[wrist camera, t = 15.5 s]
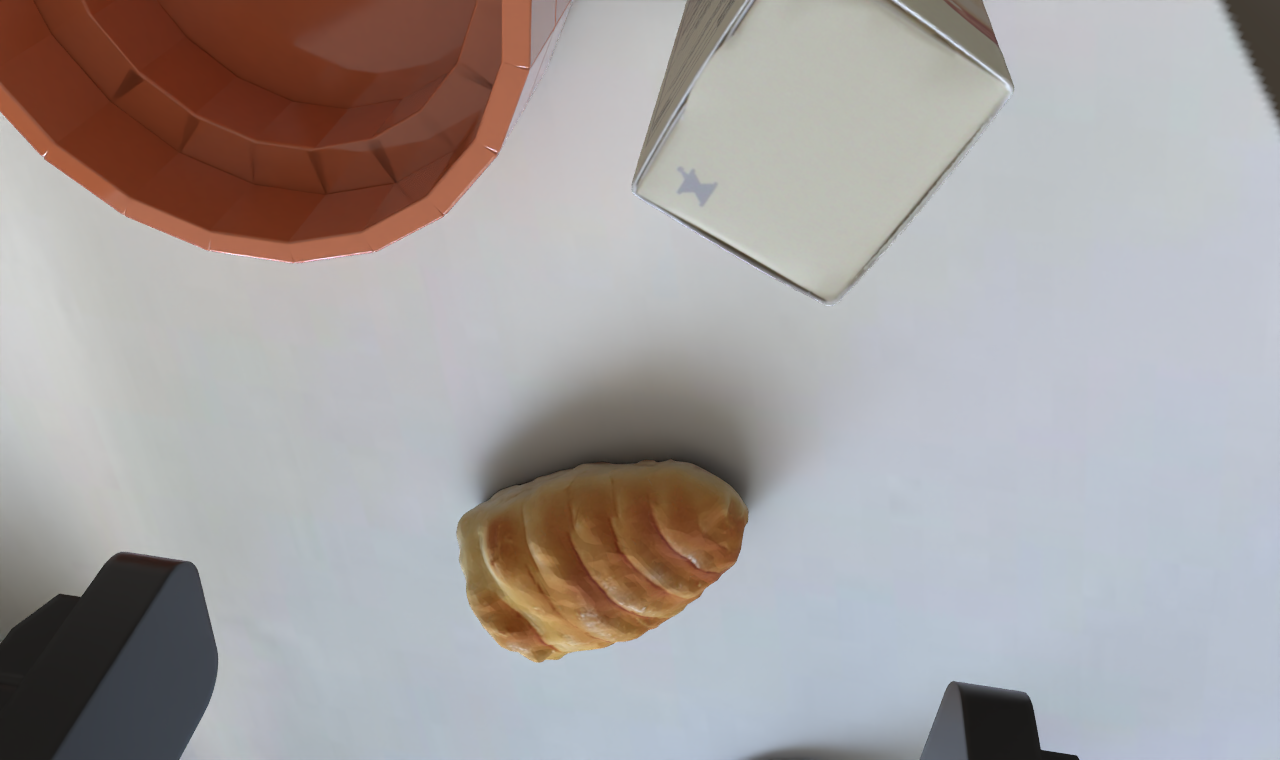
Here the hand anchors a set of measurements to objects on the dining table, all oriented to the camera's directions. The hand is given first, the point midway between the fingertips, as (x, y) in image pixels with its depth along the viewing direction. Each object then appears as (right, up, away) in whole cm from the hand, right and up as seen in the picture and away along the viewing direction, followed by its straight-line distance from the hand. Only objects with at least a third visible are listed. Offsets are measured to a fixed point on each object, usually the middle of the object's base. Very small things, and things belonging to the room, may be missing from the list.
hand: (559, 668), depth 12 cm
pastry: (-1, -2, +26) cm, 26 cm away
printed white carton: (+5, +13, +14) cm, 20 cm away
